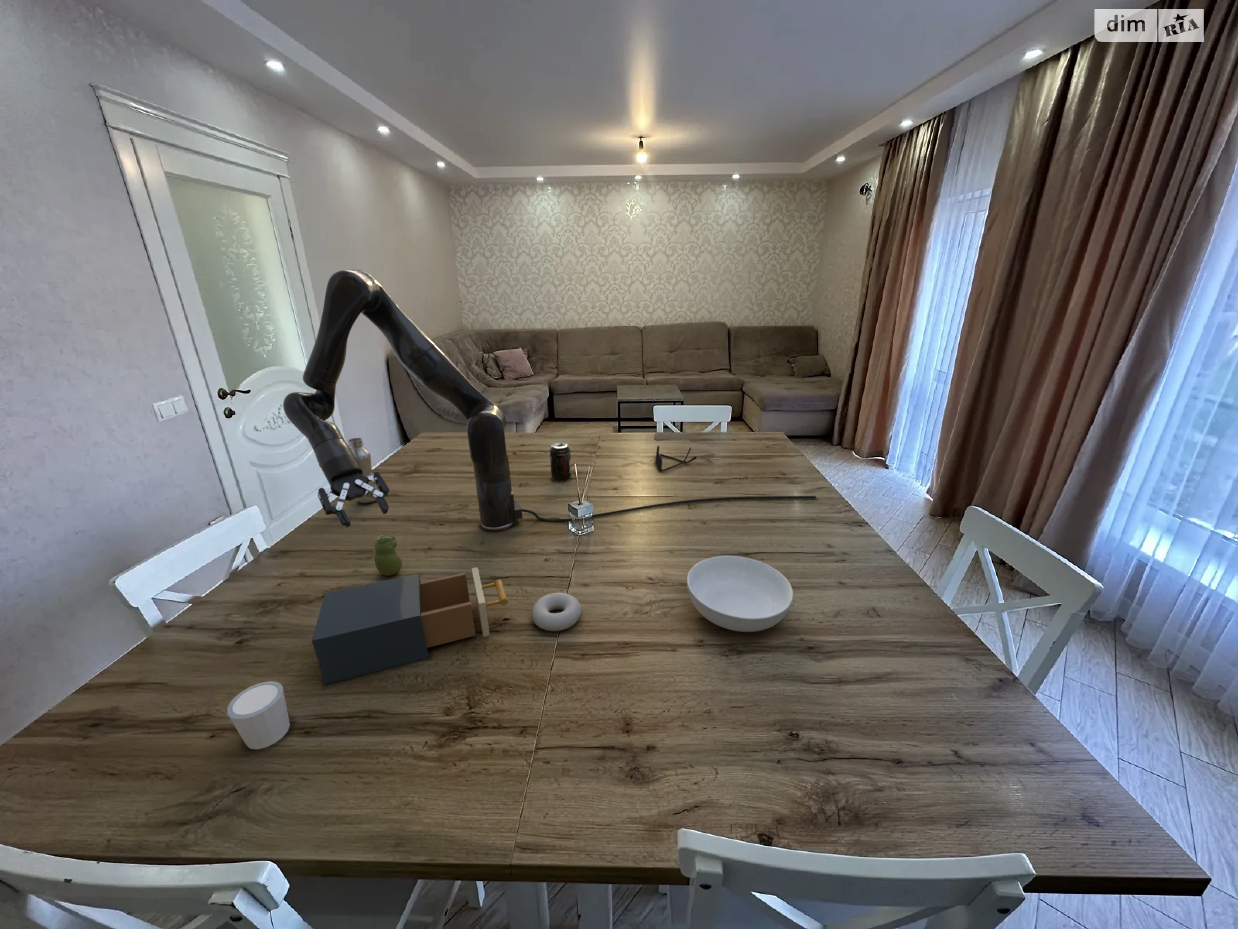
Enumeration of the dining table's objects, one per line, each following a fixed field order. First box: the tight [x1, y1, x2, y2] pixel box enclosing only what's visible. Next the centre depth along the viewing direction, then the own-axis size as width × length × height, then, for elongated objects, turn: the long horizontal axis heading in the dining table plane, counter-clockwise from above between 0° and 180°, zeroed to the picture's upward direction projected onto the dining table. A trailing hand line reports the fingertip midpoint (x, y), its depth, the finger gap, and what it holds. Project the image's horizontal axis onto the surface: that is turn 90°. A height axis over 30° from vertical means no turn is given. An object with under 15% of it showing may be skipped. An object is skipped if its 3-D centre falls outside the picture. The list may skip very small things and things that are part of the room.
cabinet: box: [311, 573, 429, 686], centre depth 90 cm, size 17×14×10 cm
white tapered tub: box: [226, 680, 291, 750], centre depth 73 cm, size 7×7×7 cm
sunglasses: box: [654, 445, 697, 472], centre depth 176 cm, size 17×14×5 cm
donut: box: [531, 592, 582, 632], centre depth 98 cm, size 10×4×10 cm
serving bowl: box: [686, 555, 794, 633], centre depth 99 cm, size 21×21×7 cm
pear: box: [374, 534, 403, 577], centre depth 111 cm, size 6×5×10 cm
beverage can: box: [549, 442, 572, 482], centre depth 162 cm, size 7×7×12 cm
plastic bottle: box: [347, 437, 380, 504], centre depth 146 cm, size 6×7×20 cm
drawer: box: [420, 567, 509, 649], centre depth 94 cm, size 20×12×8 cm, turn 112°
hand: (367, 518), depth 113 cm, fingers open, 8 cm apart
